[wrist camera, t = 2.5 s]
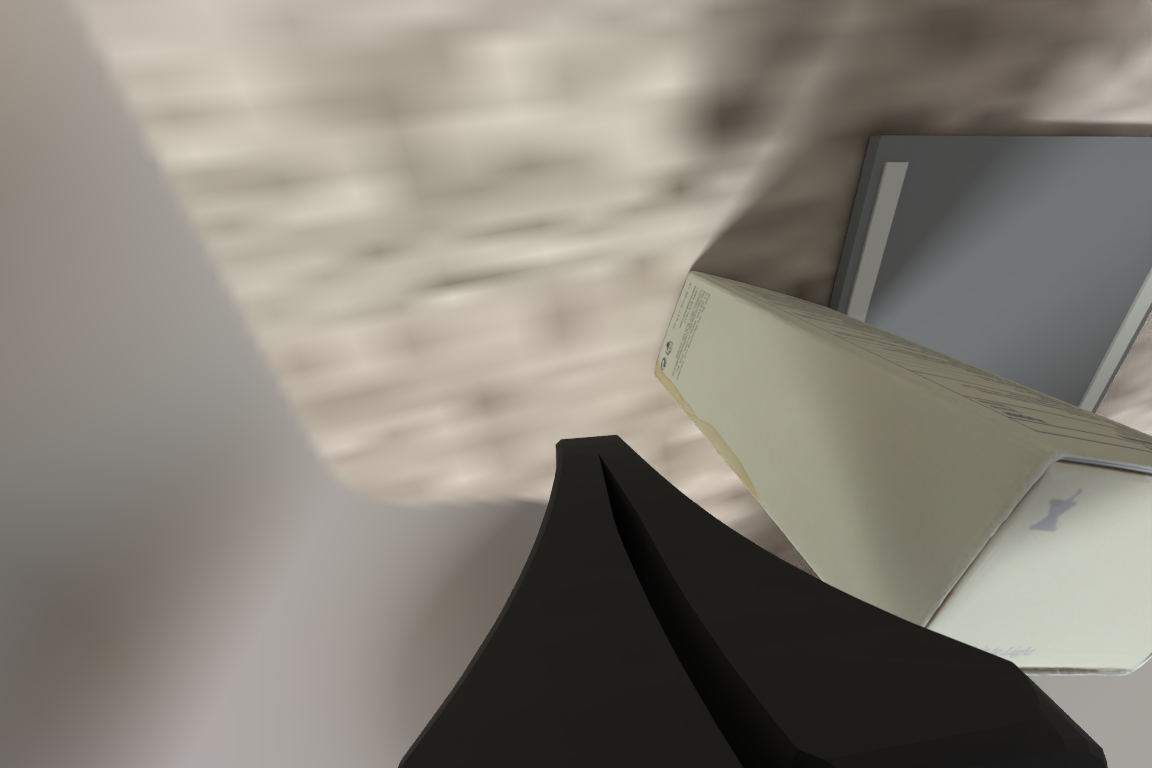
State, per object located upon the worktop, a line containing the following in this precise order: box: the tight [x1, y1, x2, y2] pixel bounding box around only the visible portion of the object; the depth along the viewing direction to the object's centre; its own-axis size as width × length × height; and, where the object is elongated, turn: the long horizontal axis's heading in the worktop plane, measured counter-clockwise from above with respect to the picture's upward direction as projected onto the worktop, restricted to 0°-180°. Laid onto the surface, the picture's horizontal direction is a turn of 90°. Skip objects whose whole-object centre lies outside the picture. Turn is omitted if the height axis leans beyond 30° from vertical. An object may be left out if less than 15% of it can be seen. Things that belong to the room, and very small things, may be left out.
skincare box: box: [654, 271, 1152, 676], centre depth 13 cm, size 6×4×12 cm
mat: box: [829, 135, 1152, 413], centre depth 20 cm, size 16×15×1 cm
